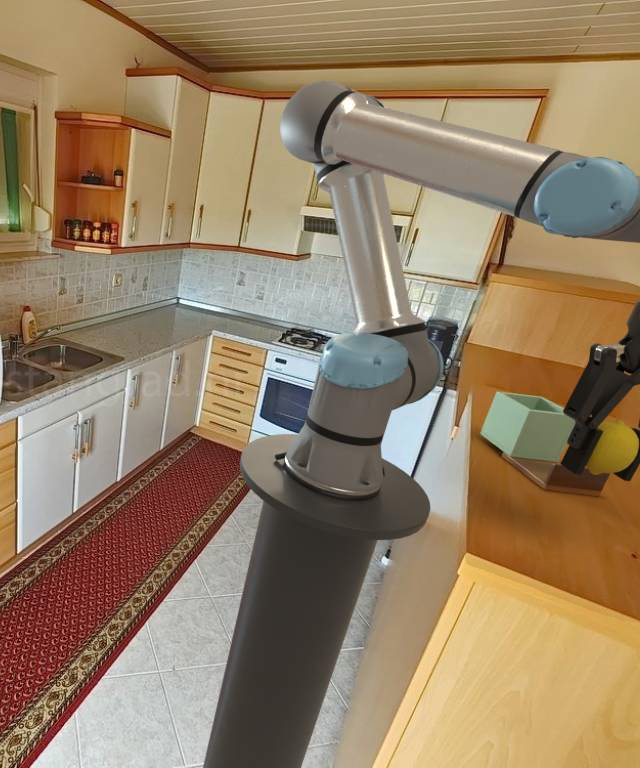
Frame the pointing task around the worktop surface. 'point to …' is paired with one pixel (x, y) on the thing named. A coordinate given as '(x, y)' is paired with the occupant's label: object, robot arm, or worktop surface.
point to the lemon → (613, 448)
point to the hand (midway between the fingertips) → (594, 472)
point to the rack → (559, 476)
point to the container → (527, 426)
